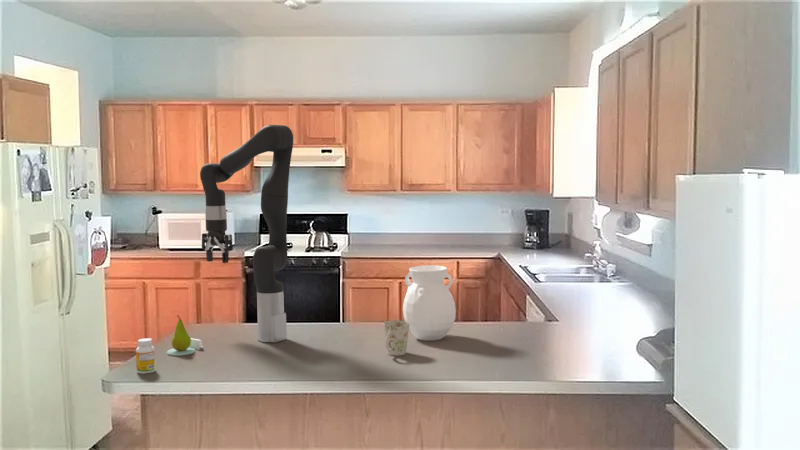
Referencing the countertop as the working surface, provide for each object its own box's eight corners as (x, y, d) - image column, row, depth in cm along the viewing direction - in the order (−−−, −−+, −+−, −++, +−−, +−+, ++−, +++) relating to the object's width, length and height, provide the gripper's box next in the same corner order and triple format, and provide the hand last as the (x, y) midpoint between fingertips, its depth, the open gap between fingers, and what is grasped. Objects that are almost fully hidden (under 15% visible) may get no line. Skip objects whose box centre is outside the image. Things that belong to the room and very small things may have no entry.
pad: (200, 351, 251) (200, 349, 251) (178, 357, 244) (178, 355, 244) (183, 347, 256) (183, 346, 256) (161, 353, 249) (161, 351, 249)
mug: (412, 351, 248) (412, 321, 247) (400, 360, 236) (400, 329, 235) (389, 349, 251) (388, 319, 250) (375, 358, 239) (375, 327, 238)
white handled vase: (395, 341, 262) (394, 270, 260) (414, 330, 279) (413, 263, 277) (446, 345, 255) (445, 272, 253) (462, 334, 272) (462, 265, 270)
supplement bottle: (139, 369, 230) (138, 337, 229) (157, 368, 231) (156, 337, 230) (134, 374, 225) (133, 342, 224) (153, 373, 225) (151, 341, 225)
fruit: (195, 350, 250) (193, 314, 249) (178, 354, 246) (177, 317, 245) (184, 347, 255) (183, 312, 254) (168, 350, 250) (166, 315, 249)
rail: (203, 348, 255) (203, 339, 255) (197, 349, 253) (197, 341, 253) (184, 344, 261) (184, 336, 261) (179, 345, 259) (178, 337, 259)
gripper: (237, 218, 275) (238, 262, 277) (211, 216, 284) (212, 259, 285) (221, 219, 269) (222, 264, 270) (195, 218, 277) (196, 261, 279)
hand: (217, 262), depth 278 cm, fingers open, 8 cm apart
